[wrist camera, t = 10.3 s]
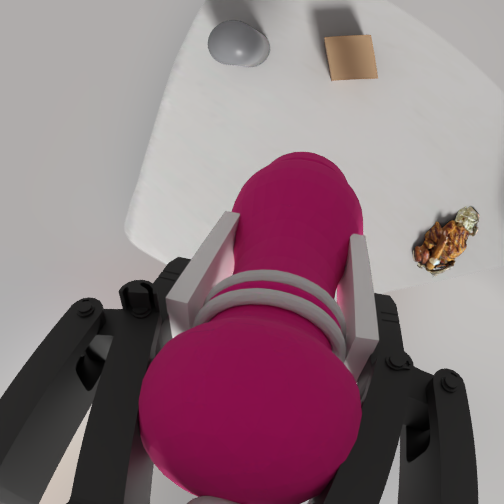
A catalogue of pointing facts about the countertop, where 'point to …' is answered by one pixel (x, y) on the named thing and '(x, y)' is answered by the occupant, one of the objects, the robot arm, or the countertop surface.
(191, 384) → the pepper mill
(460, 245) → the brown lumpy mound
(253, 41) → the grey cylinder
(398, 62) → the countertop surface
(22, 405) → the robot arm
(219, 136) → the countertop surface
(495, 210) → the countertop surface
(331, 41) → the tan block
